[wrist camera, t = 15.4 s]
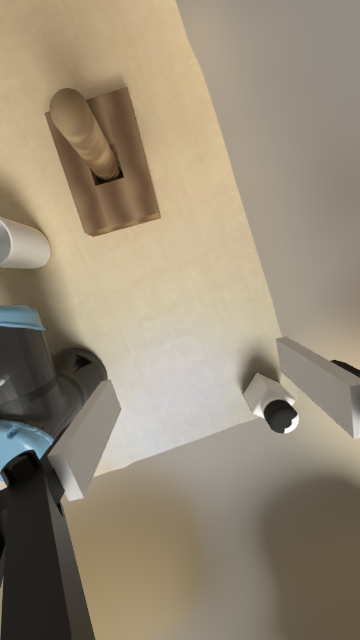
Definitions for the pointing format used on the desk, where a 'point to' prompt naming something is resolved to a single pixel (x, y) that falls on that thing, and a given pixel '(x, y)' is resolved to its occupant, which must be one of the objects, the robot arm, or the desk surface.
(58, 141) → the seat board
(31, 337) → the robot arm
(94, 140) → the oak leg
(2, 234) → the mug
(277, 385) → the medicine bottle
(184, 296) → the desk surface
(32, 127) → the desk surface
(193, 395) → the desk surface
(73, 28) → the desk surface
